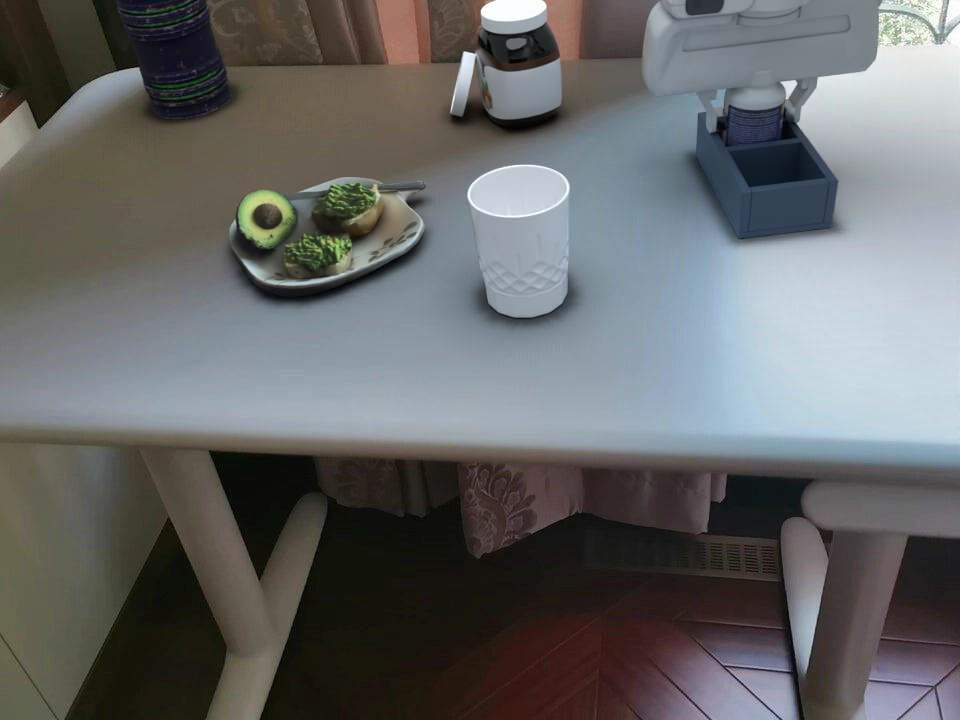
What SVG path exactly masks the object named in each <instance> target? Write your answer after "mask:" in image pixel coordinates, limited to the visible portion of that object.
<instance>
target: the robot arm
mask: <svg viewBox="0 0 960 720" xmlns="http://www.w3.org/2000/svg"><path fill="white" fill-rule="evenodd" d="M883 1H884V0H659V1H658V2H657V3H656V4H655V5H654V6H653V7H652V9H651V10H650V13H649V14H648V18H647V20H646V25H645V31H644V38H643V45H642V56H641V75H642V79H643V82H644V84H645V86H646V88H647V89H648V90H649V91H650V93H652V94H653V96H655V97H657V98H664V97H669V96H671V97H672V96H678V95H686V94H694V93H695V95H696V96H697V98H698V100H699V101H700V103H701V105H702V107H703V108H704V110H705V112H706V127H707V130H708V131H709V133H717V132H724V131H726V125H725V124H726V122H727V114H726V113H725V112H724V109H723V108H724V107H722V106H720V107H714V106H713V104H712V102H711V101H716V99H717V94H718V93H717V92H718V91H719V90H726V89H727V88H735V87H743V86H749V85H751V83H752V81H753V80H754V76H755V72H758V71H767V70H773V71H774V73H773V77H774V80H775V81H774V82H780V83H782V82H783V83H784V82H791V81H795V82H796V85H795V87H794V89H793V90H792V92H791V93H790V95H789V97H788V98H786V100H785V108H784V116H783V124H789V123H797V124H798V123H799V122H801V116H802V115H801V113H802V107H804V105H805V104H806V103H807V101H808V100H809V99H810V97H811V96H812V94H813V93H814V92H815V90H816V89H817V85H818V79H819V78H823V77H832V76H839V75H848V74H856V73H862V72H866V71H867V70H869V68H870V67H871V66H872V65H873V63H874V62H875V61H876V59H877V56H878V48H879V36H880V35H879V34H880V10H879V9H880V8H879V7H880V6H881V5H882V3H883Z"/></svg>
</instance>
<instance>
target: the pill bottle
mask: <svg viewBox="0 0 960 720" xmlns="http://www.w3.org/2000/svg"><path fill="white" fill-rule="evenodd" d="M773 73H774V71H773V70H767V71H758V72H755V76H754V80H753V81H752V83H751V85H749V86H743V87H735V88H727V89H724V96H723V107H722V108H723V109H724V112H725V113H726V114H727V122H726V124H725V125H726V131H724V132H722V133H721V139H722V141H723V143H724V144H725V146H726V147H729V146H738V145H746V144H754V143H762V142H770V141H778V140H780V139H781V132H782V124H783V116H784V108H785V100H786V99H787V91H786V87H785V86H784V84H783V83H782V82H774V81H775V80H774V77H773Z"/></svg>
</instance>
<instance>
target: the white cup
mask: <svg viewBox="0 0 960 720" xmlns="http://www.w3.org/2000/svg"><path fill="white" fill-rule="evenodd" d="M570 186H571V185H570V182H569V180H568V179H567V177H566V176H565V175H564V174H562V173H561V172H559V171H557V170H555V169H554V168H550V167H547V166H543V165H539V164H538V165H537V164H513V165H507V166H503V167H499V168H495V169H493V170H490V171H487V172H486V173H484V174H481V175H480V176H479V177H477V178H476V179H475V180H474V181H472V183H471V184H470V185H469V187H468V189H467V195H466V196H467V202H468V209H469V215H470V219H471V226H472V232H473V237H474V243H475V244H474V245H475V248H476V251H477V259H478V263H479V267H480V272H481V273H480V274H481V275H482V278H483V282H484V286H485V293H486V298H487V303H488V305H489V306H490V307H492V308H493V309H494V310H495V311H496V312H497V313H499V314H501V315H505V316H508V317H511V318H535V317H538V316H542V315H546V314H549V313H551V312H553V311H554V310H555V309H557V308H558V307H560V306H561V305H562V304H563V303H564V302H565V301H564V300H565V299H566V296H567V294H568V292H569V291H568V289H569V288H568V283H569V282H568V269H569V260H570V211H571V210H570V209H571V207H570V206H571V205H570V204H571V202H570V201H571V199H570V198H571V187H570Z"/></svg>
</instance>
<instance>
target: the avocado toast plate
mask: <svg viewBox="0 0 960 720" xmlns="http://www.w3.org/2000/svg"><path fill="white" fill-rule="evenodd" d="M425 188H426V181H425V180H409V181H397V182H387V183H384V182H381V181H378V180H375V179H372V178H365V177H355V176H353V177H352V176H348V177H347V176H346V177H339V178H335V179H332V180H328V181H326V182H323V183H320V184H318V185H315V186H311V187H309V188H306V189H304V190H301V191H298V192H293V193H287V194H286V193H283V194H282V193H280V192H278V191H275V190H273V189H267V188H265V189H263V188H262V189H255V190H253V191H250V192H249V193H247V194H246V195H244V196H243V197H242V199H241V201H240V202H238V203H237V204H236V205H234V206H235V207H236V212H235V219H233V222H232V223H231V225H230V227H229V230H228V243H229V246H230V248H231V249H232V251H233V253H234V255H235V258H236V260H237V261H238V263H239V264H240V265H241V266H242V267H243V269H244V271H245V273H246V274H247V276H248V278H249V280H250V281H251V282H252V283H254V284H255V285H256V286H257V287H258V288H260V289H261V290H264V291H266V292H269V293H271V294H274V295H277V296H280V297H284V298H285V297H286V298H296V297H305V296H310V295H315V294H319V293H322V292H325V291H328V290H331V289H334V288H336V287H339V286H341V285H343V284H345V283H349V282H352V281H355V280H358V279H360V278H361V277H363V276H365V275H367V274H369V273H371V272H373V271H375V270H378V268H381V267H382V266H385V265H387V264H388V263H389V262H391V261H394V260H395V259H397V258H399V257H401V256H403V255H405V254H406V253H407V252H409V251H410V250H411V249H412V248H413V247H414V246H415V245H417V244H418V243H419V241H420V240H421V238H422V236H423V234H424V232H425V230H426V224H425V222H424V220H423V219H422V218H421V216H420V215H419V214H418V213H417V212H415V210H414V209H413V208H411V207H410V206H409V205H408V203H407V200H408V198H409V197H411V196H413V195H415V194H417V193H420V192H421V191H424V190H425Z"/></svg>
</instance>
